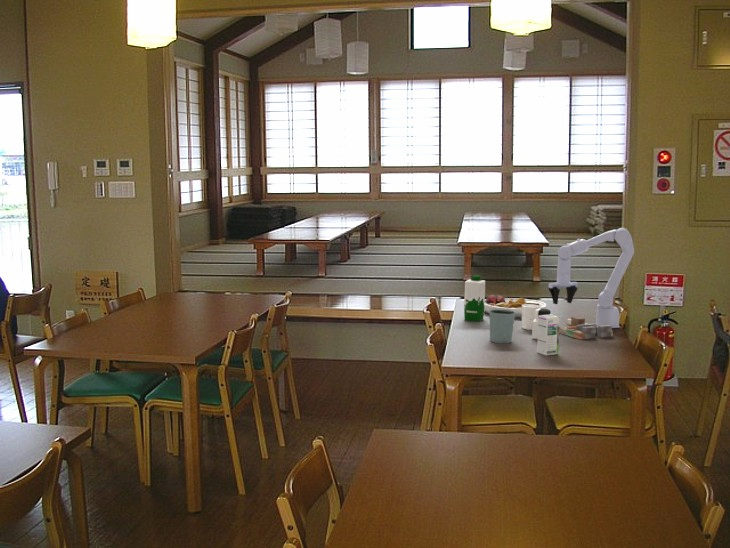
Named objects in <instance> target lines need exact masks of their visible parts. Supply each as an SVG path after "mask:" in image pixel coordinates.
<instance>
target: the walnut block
mask: <svg viewBox="0 0 730 548" xmlns="http://www.w3.org/2000/svg"><path fill="white" fill-rule="evenodd" d="M570 319H571V325H570V327H575V326H576V325H581V324H585V323H586V318H584V317H581V316H576V317H571V318H570ZM574 330H576V329H574Z"/></svg>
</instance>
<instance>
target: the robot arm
mask: <svg viewBox="0 0 730 548" xmlns="http://www.w3.org/2000/svg"><path fill="white" fill-rule="evenodd" d="M607 241H608V242H612V243H613V242H614V241H615V242H616V243H617V244H618V245H619V246H620V249H621V251H622V252H621V254H620V256H619V258H618V260H617V262H616V264H615V267H614V269H613V271H612V273H611V274H610V277H609V279H608V281H607V283H606V285H605V287H604V289H603V290H602V291H601V292H600V293H599V294H598V301H597V303H598V304H597V305H596V314H595V315H596V317H595V318H596V319H595V324H597V326H599V325H611V326H612V329H616V328H617V329H618V328H621V326H620V310H619V308H618V307H616V306H614V297H615V294H616V291H617V289H618V287H619V285H620V283H621V281H622V278H623V277H624V275H625V273H626V271H627V268H628V267H629V264H630V262H631V260H632V258H633V256H634V254H635V248H634V247H635V246H634V243H633V238H632V235H631V233H630V232H629V230H628V229H627V228H625V227H620V228H617V229H611V230H608V231H605V232H603V233H601V234H599V235H596V236H594V237H592V238H589V239H587V240H586V239H584V238H581V239H580V238H577V239H576V241H573V242H571V243H569V242H568V243H566V245H562V246H561V247H560V248H559V249H558V250H557V256H558V257H557V261H558V262H557V267H556V268H557V271H556V282H551V283H548V291H549V293H550V295H551V298H552V302H553V303H552V304H554V305H559V304H558V302H559V295H560V291H561V289H559V288H565V290H566V301H567V303H568V304H572V302H573V299H574V296H575V294H576V292H577V291H578V287H579V286H578V284H579V282H577V281H571V271H572V270H571V269H572V263H571V258H572V256H573V257H574V256H575V257H576V256H578V255H581V254H583V253H585V252H587V251H588V250H589V249H590V247H592V246H596V245H599V244H602V243H605V242H607Z"/></svg>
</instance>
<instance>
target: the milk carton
mask: <svg viewBox="0 0 730 548" xmlns="http://www.w3.org/2000/svg"><path fill="white" fill-rule="evenodd" d="M485 300H486V280H483V279H482V276H481V275H476V274H475V275H473V274H472V275H471V279H466V281H464V303H463V305H464V306H463V309H464V312H463V314H464V315H463V316H464V317H463V319H464V321H466V322H468V321H469V322H477V323H478V322H481V321H483V320H484V316H485V310H484V306H485Z"/></svg>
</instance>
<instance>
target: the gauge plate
mask: <svg viewBox="0 0 730 548" xmlns="http://www.w3.org/2000/svg"><path fill="white" fill-rule="evenodd" d="M587 326H593V327H596V330H595V335H596V334H598V333H597V324H596V322H595V323H587V324H581V325H576V326H575V327H571V326H566V327H567V329H576V330H578V331H581V330H582V327H587Z"/></svg>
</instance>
